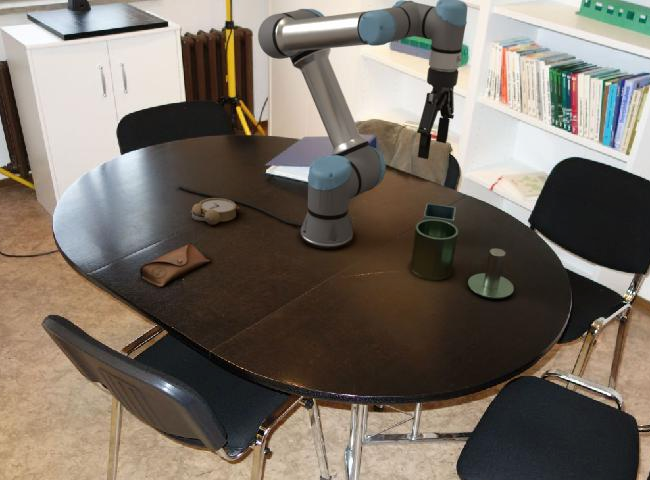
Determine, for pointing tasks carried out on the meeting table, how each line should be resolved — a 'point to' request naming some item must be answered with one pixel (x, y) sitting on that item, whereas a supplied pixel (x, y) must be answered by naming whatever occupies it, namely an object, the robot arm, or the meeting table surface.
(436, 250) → the trash can
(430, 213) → the flower pot
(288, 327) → the meeting table surface
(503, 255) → the bin lid
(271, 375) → the meeting table surface
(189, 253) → the sunglasses case
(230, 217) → the alarm clock
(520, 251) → the meeting table surface
